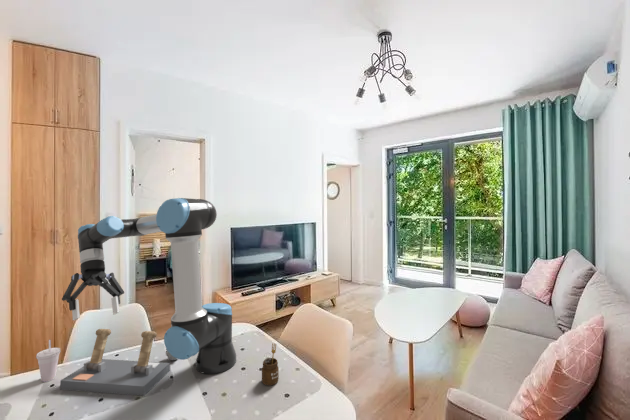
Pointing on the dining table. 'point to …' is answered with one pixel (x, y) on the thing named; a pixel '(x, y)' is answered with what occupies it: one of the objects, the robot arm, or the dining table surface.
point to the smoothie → (48, 363)
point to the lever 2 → (145, 351)
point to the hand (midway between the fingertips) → (97, 316)
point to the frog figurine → (170, 356)
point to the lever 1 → (98, 348)
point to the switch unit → (116, 377)
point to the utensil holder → (270, 369)
